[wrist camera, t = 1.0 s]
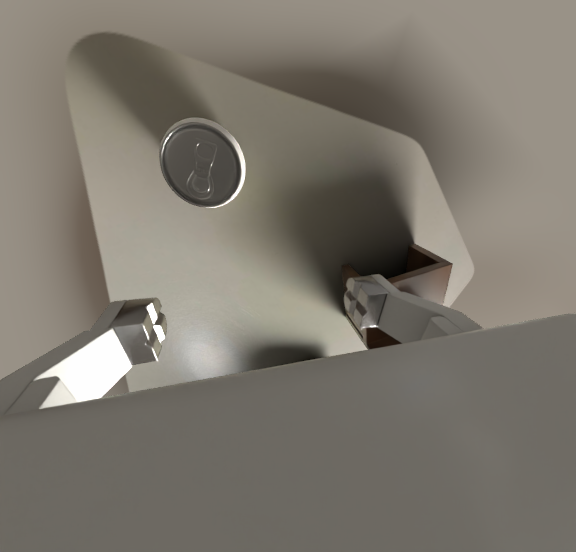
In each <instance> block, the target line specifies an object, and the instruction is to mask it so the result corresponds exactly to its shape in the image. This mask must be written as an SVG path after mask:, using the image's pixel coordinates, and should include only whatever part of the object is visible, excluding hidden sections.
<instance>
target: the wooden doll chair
mask: <svg viewBox="0 0 576 552" xmlns="http://www.w3.org/2000/svg"><path fill="white" fill-rule="evenodd" d="M451 269H452V263H450V262H448V261H446V260H445V259H443V258H441V257H439V256H437V255H435V254H433V253H432V252H430V251H428V250H426V249H424V248H422V247H420V246H418V245H416V244H412V245H409V250H408V259H407V269H406V273H405V274H402V275H399V276H396V277H392V278H389V279H386V280H387V281H389V282H390V283H391V284H392V285H393V286H394V287H396V288H397V289H398V290H399V291H400V292H406V293H409V294H412V295H415V296H417V297H420V298H423V299H426V300H429V301H431V302H434V303H437V304H440V305H443V303H444V298H445V294H446V290H447V286H448V281H449V277H450V273H451ZM342 274H343V286H344V294H345V293H346V291H347V290H348V288H347V286H346V284H347V280H348V278H353V277H361V276H360V275H359V274H358V273H357V272H356V271H355V270H354V269H353V268H352V267H351V266H350V265H349V264H347V265H343V266H342ZM345 311H346V313H347V314H346V318H347V320H348V321H349V323H350V324H351V326H352V327H353V329H354V330H355V332H356V333H357V335H358V336H359V337H360V339H361V340H362V342H363V343H364V345H365V346H366V348H367V349H368V350H370V349H375V348H381V347H386V346H392V345H398V344H402V343H401V342H399V341H398V340H396V339H395V338H393V337H391V336H390V335H388V334H387V333H385V332H384V331H382V330H380V329H379V328H377V327H370V328H362V329H360V328H359V327H358V325H357V324H356V322H355V321H354V320H353V317H354V315H352V314H350V313H348V311H347V310H346V308H345Z"/></svg>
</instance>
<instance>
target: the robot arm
mask: <svg viewBox="0 0 576 552" xmlns="http://www.w3.org/2000/svg"><path fill="white" fill-rule="evenodd" d="M346 286H347V288H348V290H347V291H346V293H345V294H344V305H345V308H346V310H347V311H348V313H350V314H352V315H354V317H353V320H354V321H355V322H356V324H357V325H358V327H359V328H360V329H362V328H370V327H377V328H379V329H380V330H382V331H384V332H385V333H387V334H388V335H390V336H391V337H393V338H395V339H396V340H398V341H399V342H401V343H402V344H398V345H392V346H386V347H381V348H375V349H370V350H364V351H358V352H353V353H347V354H342V355H336V356H330V357H325V358H319V359H314V360H308V361H303V362H297V363H291V364H286V365H280V366H275V367H269V368H264V369H258V370H253V371H247V372H242V373H236V374H231V375H225V376H220V377H214V378H208V379H203V380H197V381H192V382H186V383H181V384H175V385H170V386H164V387H158V388H153V389H147V390H142V391H136V392H131V393H125V394H120V395H114V396H108V397H103V398H101V397H102V396H103V395H104V394H105V393H106V392H107V391H108V390H109V389H110V388H111V387H112V386H113V385H114V384H115V383H116V382H117V381H118V380H119V379H120V378H121V377H122V376H123V375H124V374H125V373H126V372H127V371H128V370H129V369H130V368H131V367H132V365H136V364H141V363H147V362H152V361H157V360H158V357H159V354H160V351H161V348H162V345H161V343H160V342H161V341H162V340H163V339H164V338H165V336H166V332H167V323H166V318H165V315H164V314H162V313H161V312H160V309H161V307H162V306H161V303H160V300H159V299H158V298H145V299H133V300H122V301H114V302H111V303H110V304H109V305H108V307H107V308H106V309H105V311H104V312H103V313H102V315H101V316H100V318H99V319H98V320H97V321H96V323H95V324H94V326H93V327H92V328H91V329H90V331H84V332H82V333H81V334H79V335H77V336H75V337H74V338H72V339H70V340H69V341H67V342H65V343H63V344H62V345H60V346H58V347H56V348H55V349H53V350H51V351H50V352H48V353H46V354H45V355H43V356H41V357H39V358H37V359H36V360H34V361H32V362H31V363H29V364H27V365H25V366H24V367H22V368H20V369H18V370H17V371H15V372H14V373H12V374H10V375H8V376H6V377H5V378H3V379H1V380H0V552H576V314H564V315H558V316H552V317H547V318H542V319H536V320H530V321H525V322H519V323H514V324H508V325H503V326H497V327H492V328H486V329H484V328H482V327H481V326H480V325H478V324H477V323H475V322H474V321H473V320H471V319H470V318H468V317H467V316H466V315H464V314H463V313H462V312H459V311H457V310H454V309H451V308H448V307H445V306H443V305H440V304H437V303H434V302H431V301H429V300H426V299H423V298H420V297H417V296H415V295H412V294H409V293H406V292H400V291H399V290H398V289H397V288H396V287H394V286H393V285H392V284H391V283H390V282H389V281H387V280H386V279H385V278H384V277H383V276H381V275H379V274H375V275H368V276H361V277H353V278H348V280H347V284H346Z"/></svg>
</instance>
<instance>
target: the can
mask: <svg viewBox="0 0 576 552" xmlns="http://www.w3.org/2000/svg"><path fill="white" fill-rule="evenodd" d="M159 160H160V166H161V170H162V173H163V176H164V178H165V180H166V182H167V183H168V185H169V186H170V188H171V189H172V190H173V191H174V192H175V193H176V194H177V195H178V196H179V197H180V198H182V199H183V200H185V201H186V202H188V203H190V204H193V205H196V206H199V207H205V208H214V207H219V206H222V205H225V204H227V203H229V202H230V201H231V200H233V199H234V198H235V197H236V196H237V194H238V193H239V192H240V190H241V188H242V186H243V183H244V179H245V171H246V169H245V160H244V156H243V153H242V150H241V148H240V146H239V144H238V143H237V141H236V140H235V138H234V137H233V136H232V135H231V134H230V133H229V132H228V131H227V130H226V129H225V128H224V127H222V126H221V125H219V124H218V123H216V122H214V121H211V120H208V119H205V118H187V119H183V120H181V121H179V122H177V123H175V124H174V125H172V126H171V127H170V128H169V129H168V130H167V132H166V133H165V135H164V137H163V139H162V141H161V145H160V151H159Z"/></svg>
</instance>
